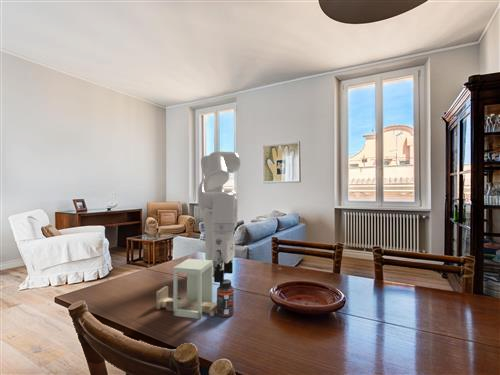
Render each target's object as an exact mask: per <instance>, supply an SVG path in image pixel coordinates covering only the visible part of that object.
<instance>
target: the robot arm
mask: <svg viewBox="0 0 500 375" xmlns="http://www.w3.org/2000/svg"><path fill="white" fill-rule="evenodd" d="M240 167H241V158H240V155H239V154H238V153H237V152H235V151H214V152H211V153H210V154H209V155H204V156H202V157H201V159H200V168H201V170H202V173H203V175H204V177H203V179H202V181H200V183H199V185H198V190H197V203H198V208H199V210H200V211H201V212H204V214H203V217H202V219H203V220H202V221H203V228H204V260H213V282H214V283H219V284H220V283H223V282H224V279H225V274H228V275H229V274H233V271H234V268H233V266H234V264H233V263H234V262H233V260H234V258H235V256H236V248H235V247H236V246H235V236H234V235H235V234H234V233H235V232H236V231H235V229H236V227H237V226H238V195H237V191H235V190H234V189H231V188H230V189H228V188H227V189H224V186H223V185H225V184H227V183H228V182H229V179H230V174H233V173H236V172H238V171H239V169H240Z"/></svg>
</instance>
